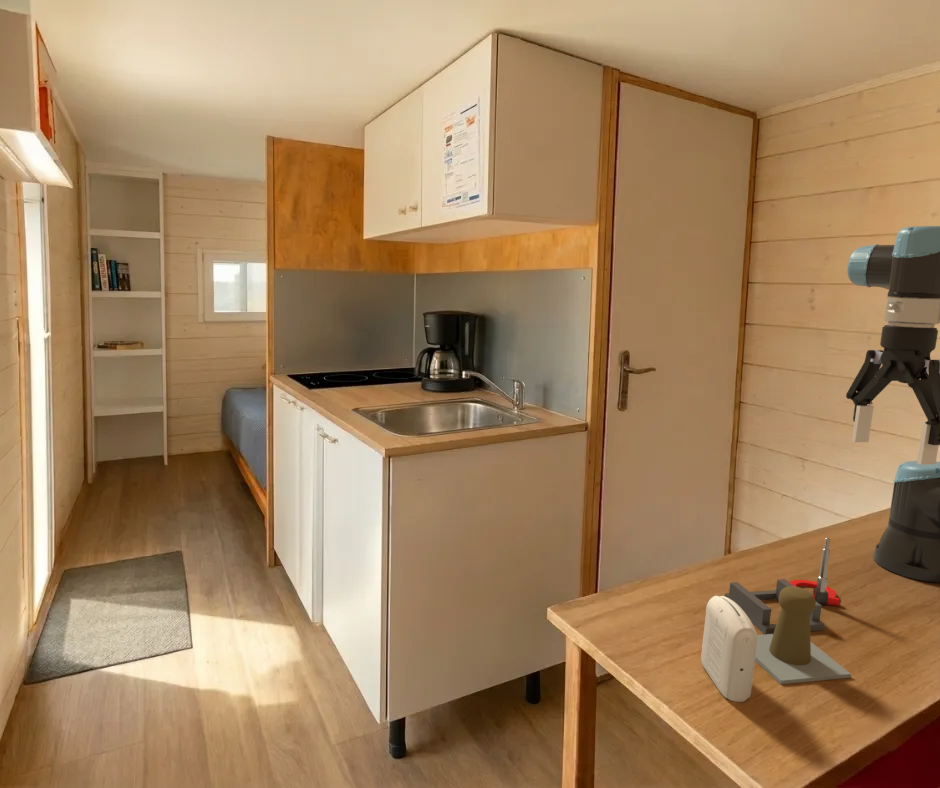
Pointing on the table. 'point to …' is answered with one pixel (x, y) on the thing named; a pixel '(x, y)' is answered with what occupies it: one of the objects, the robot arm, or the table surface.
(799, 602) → the cork
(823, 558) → the tow hook
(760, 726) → the table surface
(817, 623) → the grey square frame
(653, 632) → the table surface
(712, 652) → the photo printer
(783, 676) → the mat
